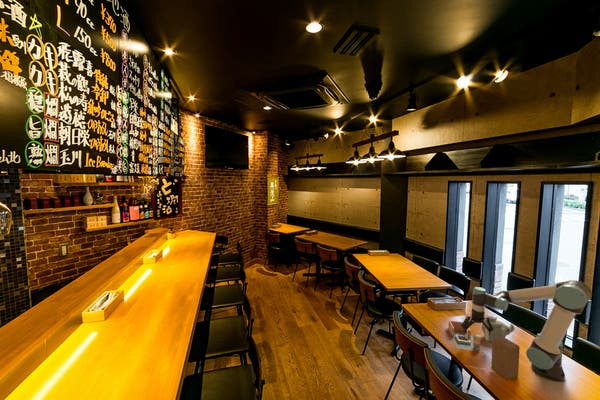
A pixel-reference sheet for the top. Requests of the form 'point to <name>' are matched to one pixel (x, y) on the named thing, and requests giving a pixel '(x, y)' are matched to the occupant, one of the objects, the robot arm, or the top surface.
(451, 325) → the housing
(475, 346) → the peg
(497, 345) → the wooden block
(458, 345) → the board
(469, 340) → the socket
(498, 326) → the teapot
